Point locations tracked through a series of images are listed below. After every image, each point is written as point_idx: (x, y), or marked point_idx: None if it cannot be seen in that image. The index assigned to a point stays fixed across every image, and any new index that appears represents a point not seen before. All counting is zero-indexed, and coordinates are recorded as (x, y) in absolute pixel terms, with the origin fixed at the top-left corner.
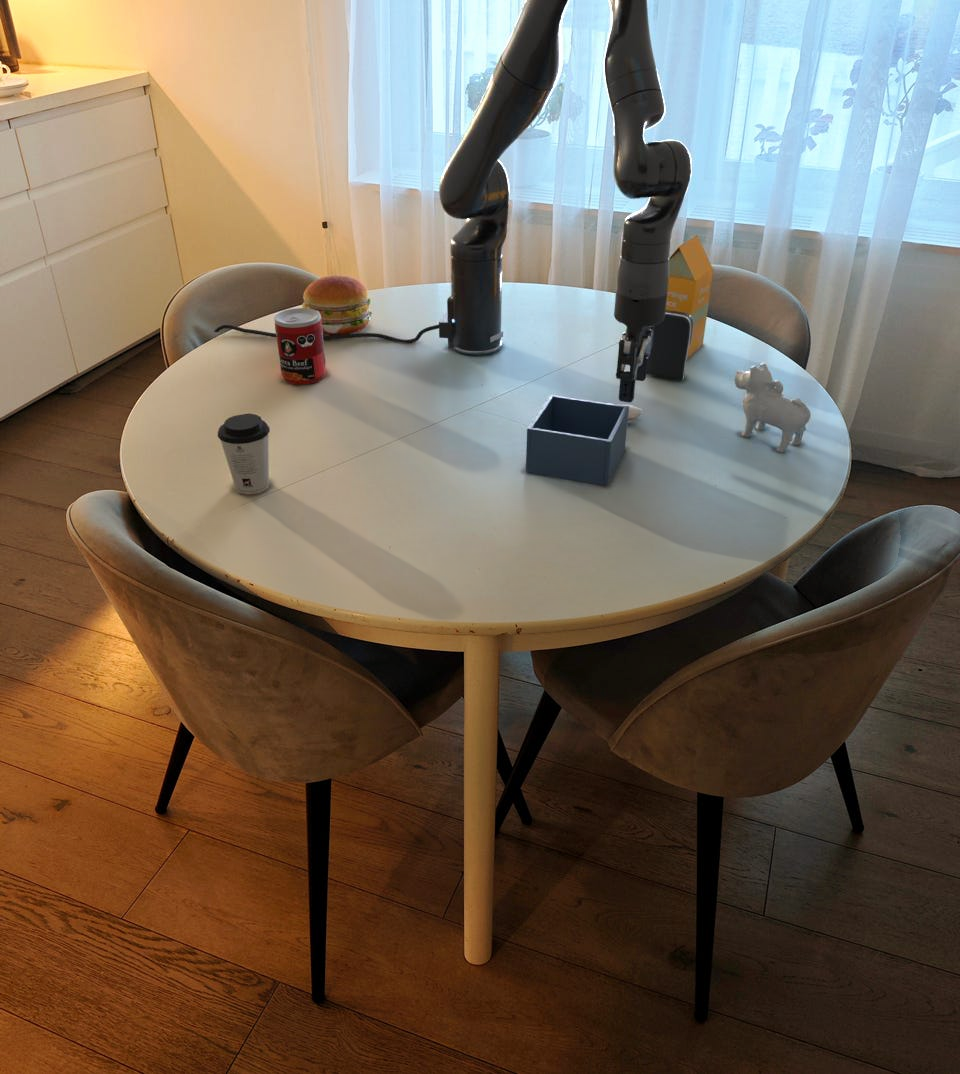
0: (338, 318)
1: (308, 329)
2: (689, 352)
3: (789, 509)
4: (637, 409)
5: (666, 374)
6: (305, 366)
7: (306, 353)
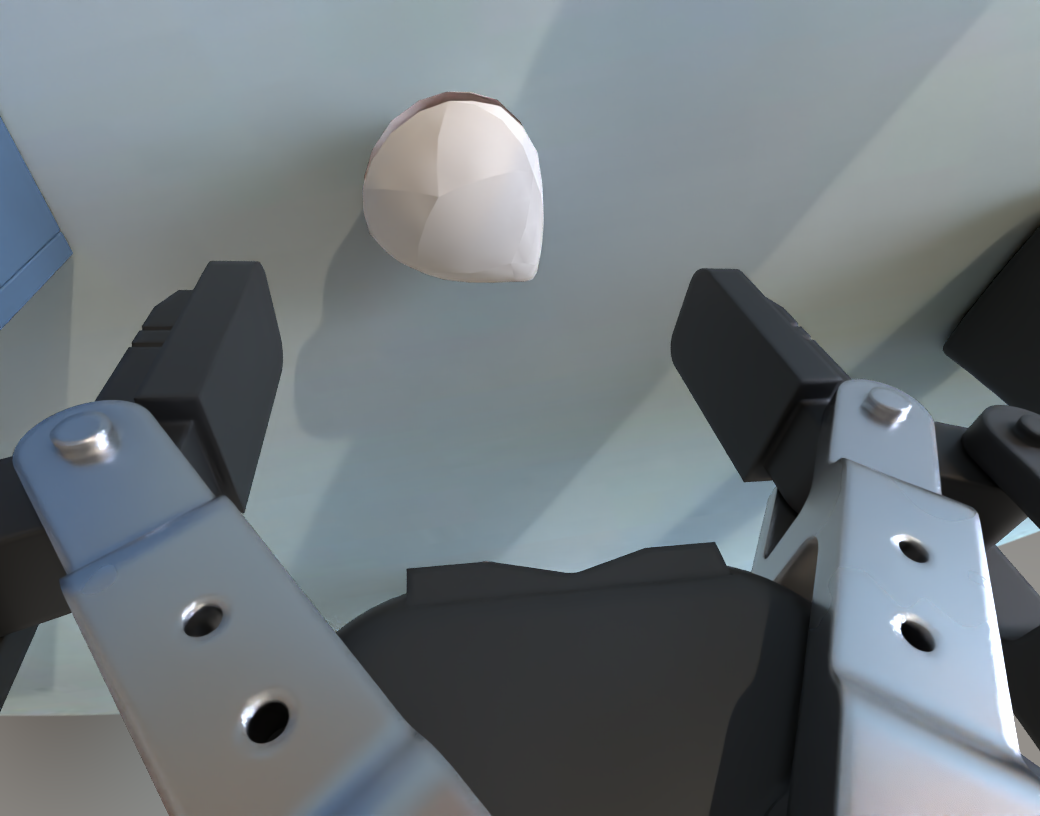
0: None
1: None
2: None
3: (97, 686)
4: (484, 274)
5: (1005, 295)
6: None
7: None
